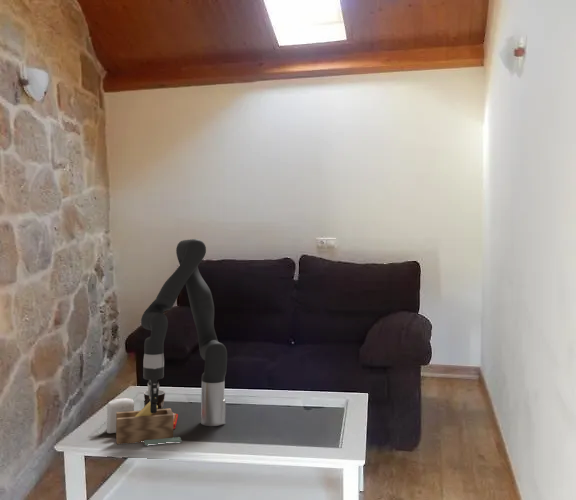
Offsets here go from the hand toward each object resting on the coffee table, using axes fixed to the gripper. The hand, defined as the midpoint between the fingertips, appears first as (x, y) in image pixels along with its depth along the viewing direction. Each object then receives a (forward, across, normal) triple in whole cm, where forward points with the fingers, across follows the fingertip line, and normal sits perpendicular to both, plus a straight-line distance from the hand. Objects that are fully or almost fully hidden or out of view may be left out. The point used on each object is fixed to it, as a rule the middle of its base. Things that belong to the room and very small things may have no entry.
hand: (153, 410), depth 213 cm
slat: (+3, 0, -3) cm, 5 cm away
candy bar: (+10, -14, +9) cm, 20 cm away
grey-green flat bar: (+10, +7, +3) cm, 12 cm away
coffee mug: (+10, -24, +2) cm, 27 cm away
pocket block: (+10, 0, -3) cm, 10 cm away
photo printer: (+10, -10, -11) cm, 18 cm away
